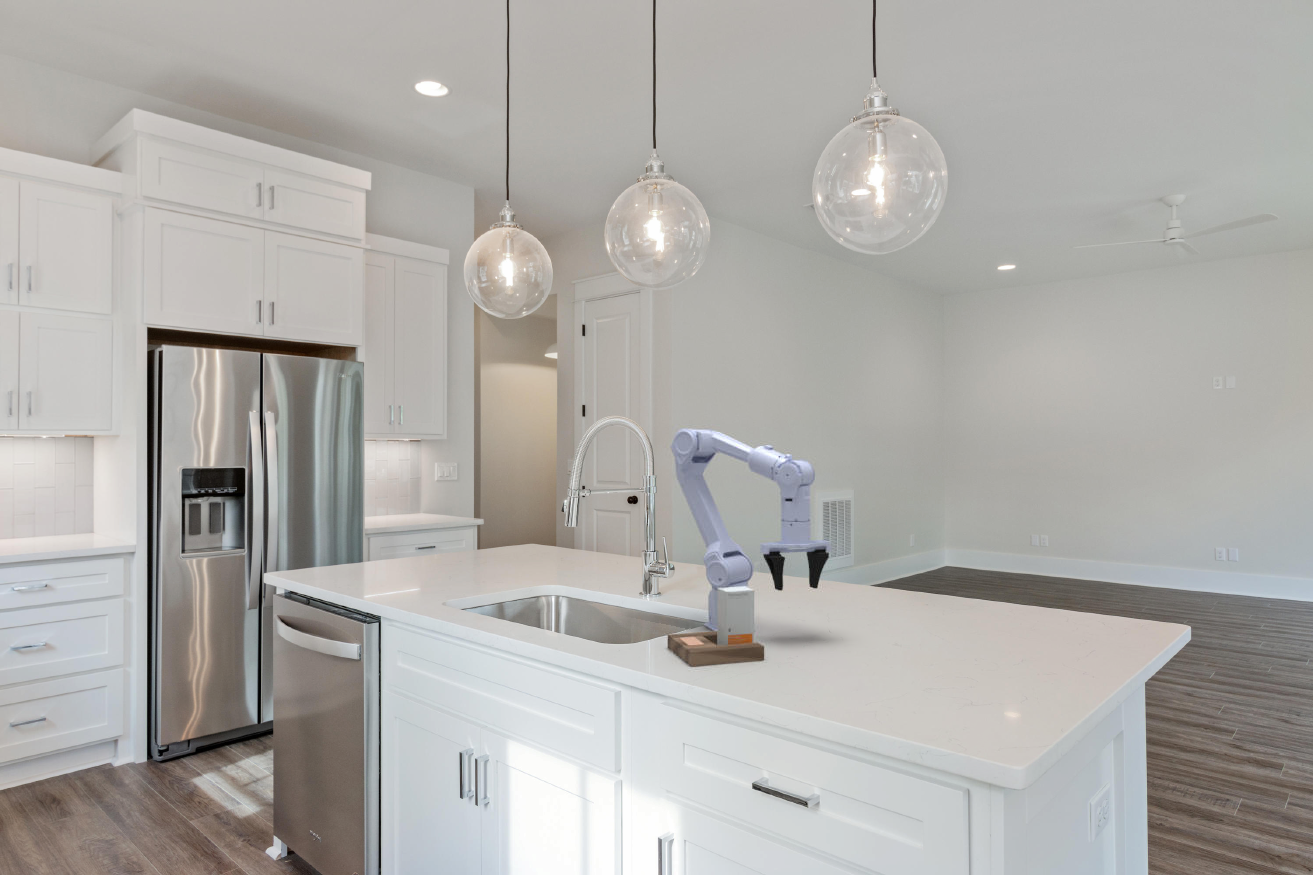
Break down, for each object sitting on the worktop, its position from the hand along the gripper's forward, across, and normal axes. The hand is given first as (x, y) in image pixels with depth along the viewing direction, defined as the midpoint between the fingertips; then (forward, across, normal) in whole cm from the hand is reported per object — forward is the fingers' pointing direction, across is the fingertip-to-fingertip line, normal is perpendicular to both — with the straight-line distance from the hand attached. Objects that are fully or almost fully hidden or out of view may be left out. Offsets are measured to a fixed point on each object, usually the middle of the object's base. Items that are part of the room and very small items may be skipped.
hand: (796, 588), depth 156 cm
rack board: (+10, -19, -4) cm, 22 cm away
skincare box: (+11, -15, -4) cm, 19 cm away
